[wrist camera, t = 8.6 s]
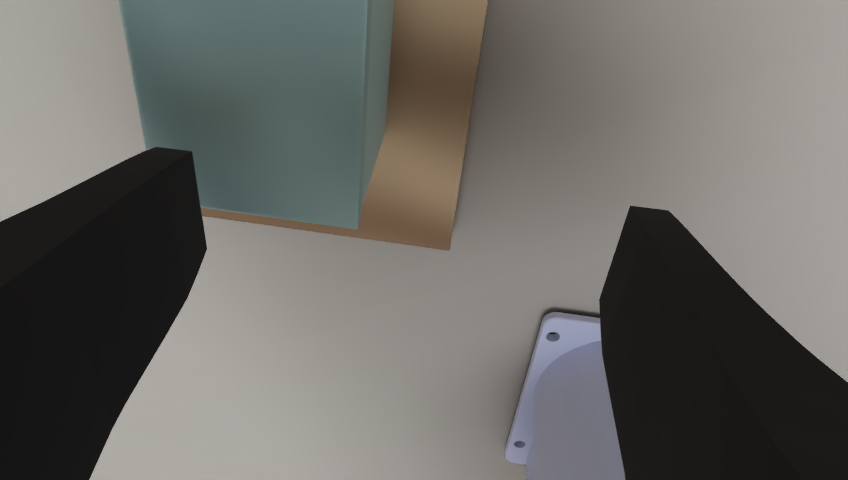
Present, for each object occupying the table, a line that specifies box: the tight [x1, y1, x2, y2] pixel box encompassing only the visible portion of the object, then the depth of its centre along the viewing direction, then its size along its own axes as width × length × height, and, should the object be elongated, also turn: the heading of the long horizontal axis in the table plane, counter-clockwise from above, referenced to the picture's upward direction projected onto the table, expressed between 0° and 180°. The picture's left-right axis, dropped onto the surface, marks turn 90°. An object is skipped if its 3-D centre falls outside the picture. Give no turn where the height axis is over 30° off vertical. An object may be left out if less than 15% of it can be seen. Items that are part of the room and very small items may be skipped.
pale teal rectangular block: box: [119, 0, 394, 230], centre depth 17 cm, size 6×5×5 cm
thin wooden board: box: [201, 0, 488, 250], centre depth 19 cm, size 14×10×1 cm
